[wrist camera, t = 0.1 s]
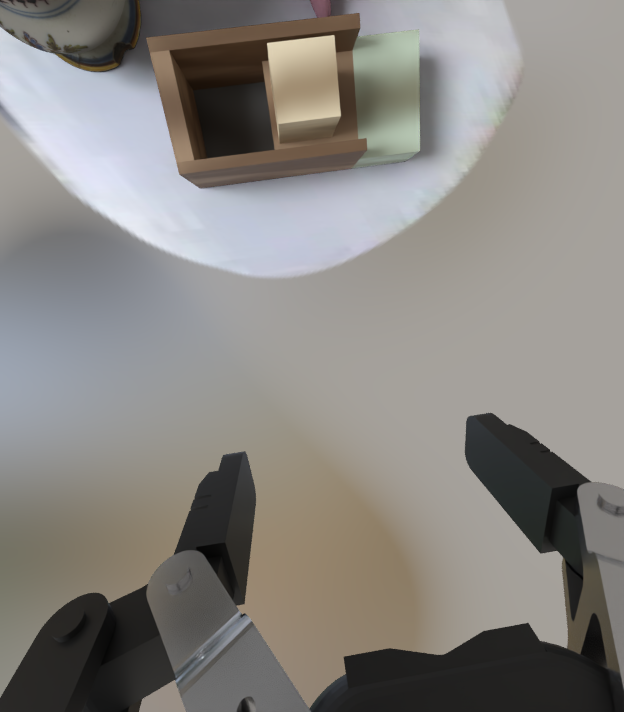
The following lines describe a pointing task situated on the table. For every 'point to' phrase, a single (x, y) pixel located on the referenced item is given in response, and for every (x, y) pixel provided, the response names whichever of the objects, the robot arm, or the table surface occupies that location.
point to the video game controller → (321, 8)
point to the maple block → (304, 88)
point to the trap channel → (256, 106)
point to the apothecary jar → (75, 29)
